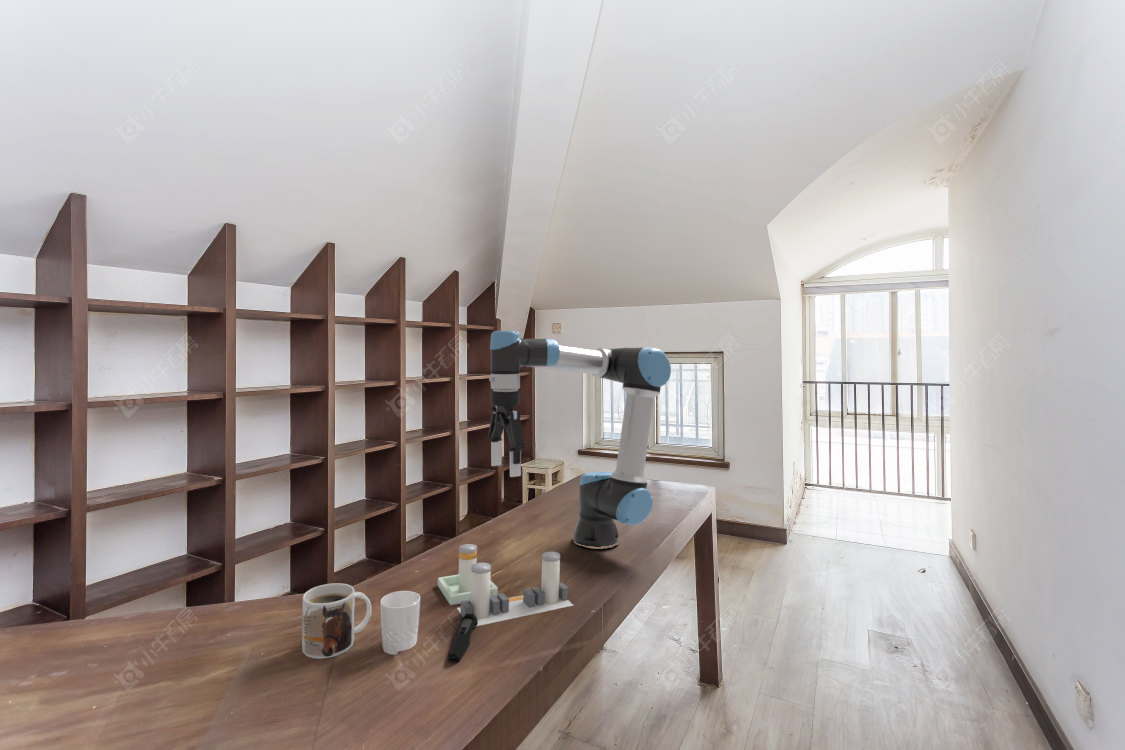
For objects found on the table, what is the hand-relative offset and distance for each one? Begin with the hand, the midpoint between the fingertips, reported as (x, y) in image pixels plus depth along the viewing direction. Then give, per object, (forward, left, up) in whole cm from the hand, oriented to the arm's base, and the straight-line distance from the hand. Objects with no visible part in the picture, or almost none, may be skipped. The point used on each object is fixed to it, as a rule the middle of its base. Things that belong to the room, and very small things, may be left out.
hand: (505, 470), depth 141 cm
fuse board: (+2, +14, -30) cm, 34 cm away
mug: (+42, +13, -31) cm, 54 cm away
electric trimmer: (+18, +24, -30) cm, 43 cm away
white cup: (+30, +19, -31) cm, 47 cm away
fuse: (+11, +14, -30) cm, 35 cm away
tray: (+10, +1, -30) cm, 32 cm away
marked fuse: (+10, +1, -30) cm, 31 cm away
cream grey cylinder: (-7, +14, -30) cm, 34 cm away
